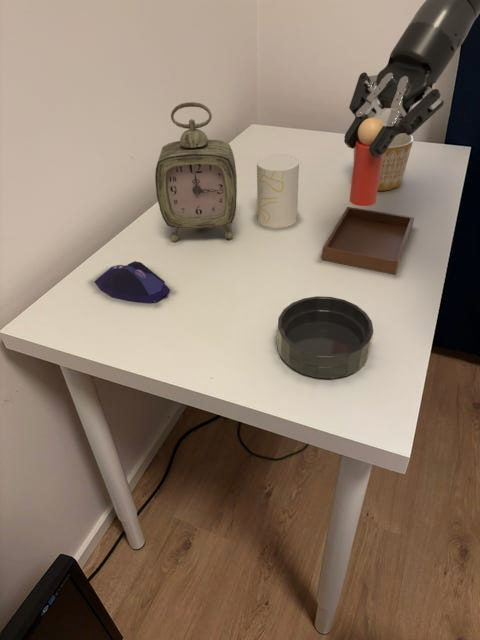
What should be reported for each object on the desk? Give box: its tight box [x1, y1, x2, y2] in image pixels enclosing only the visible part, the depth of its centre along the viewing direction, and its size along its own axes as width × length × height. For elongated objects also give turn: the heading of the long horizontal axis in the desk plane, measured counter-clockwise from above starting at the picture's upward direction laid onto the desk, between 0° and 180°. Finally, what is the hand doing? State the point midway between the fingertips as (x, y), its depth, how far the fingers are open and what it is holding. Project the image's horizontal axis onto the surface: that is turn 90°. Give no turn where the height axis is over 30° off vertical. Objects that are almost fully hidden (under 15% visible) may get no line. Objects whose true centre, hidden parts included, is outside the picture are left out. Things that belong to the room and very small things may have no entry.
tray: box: [321, 206, 415, 275], centre depth 91 cm, size 17×13×3 cm
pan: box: [276, 295, 374, 379], centre depth 69 cm, size 13×13×4 cm
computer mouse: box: [94, 260, 171, 304], centre depth 83 cm, size 9×15×4 cm, turn 58°
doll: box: [349, 117, 386, 207], centre depth 71 cm, size 4×4×12 cm
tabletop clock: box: [154, 101, 238, 242], centre depth 89 cm, size 14×9×25 cm, turn 90°
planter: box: [353, 133, 414, 192], centre depth 110 cm, size 13×13×10 cm
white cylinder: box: [256, 154, 300, 229], centre depth 97 cm, size 8×8×12 cm
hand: (360, 149), depth 69 cm, fingers closed on doll, 4 cm apart
